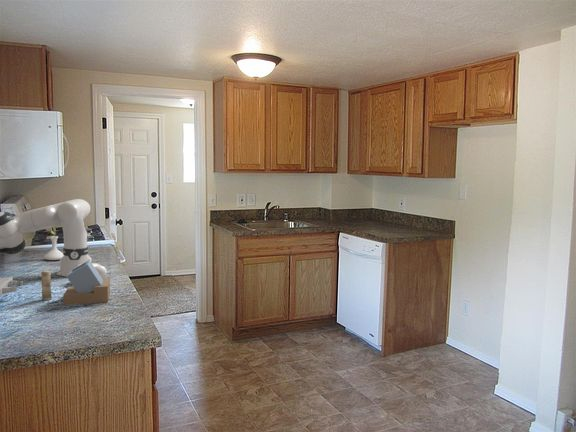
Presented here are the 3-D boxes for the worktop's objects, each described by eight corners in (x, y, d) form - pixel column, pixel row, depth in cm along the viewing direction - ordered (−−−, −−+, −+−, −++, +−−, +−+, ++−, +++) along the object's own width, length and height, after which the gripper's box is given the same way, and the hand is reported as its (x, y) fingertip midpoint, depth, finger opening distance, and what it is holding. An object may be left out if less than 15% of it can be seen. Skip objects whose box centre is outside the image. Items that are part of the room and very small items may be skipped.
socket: (68, 295, 206) (67, 259, 204) (110, 293, 211) (109, 258, 209) (63, 304, 193) (62, 266, 191) (107, 302, 198) (107, 264, 196)
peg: (43, 298, 201) (42, 271, 200) (51, 298, 202) (51, 270, 201) (41, 300, 198) (40, 272, 197) (50, 300, 199) (49, 272, 198)
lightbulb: (91, 291, 214) (91, 267, 213) (93, 287, 220) (92, 264, 219) (106, 290, 216) (105, 266, 215) (107, 286, 222) (107, 263, 221)
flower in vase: (44, 258, 283) (42, 217, 280) (65, 257, 288) (64, 216, 285) (43, 262, 271) (41, 219, 268) (65, 261, 276) (63, 219, 273)
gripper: (-11, 288, 202) (25, 287, 206) (-27, 302, 183) (13, 300, 187) (-11, 274, 202) (25, 273, 206) (-28, 286, 182) (13, 284, 186)
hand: (19, 286), depth 196 cm, fingers open, 8 cm apart
